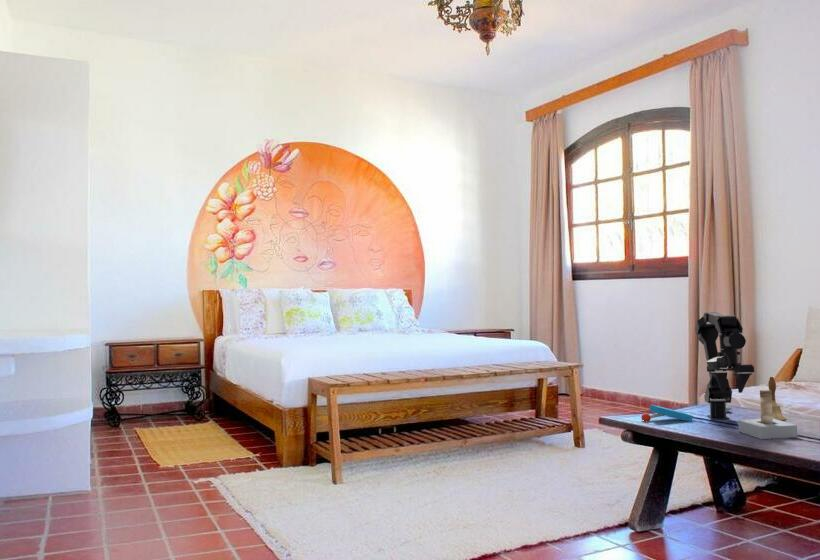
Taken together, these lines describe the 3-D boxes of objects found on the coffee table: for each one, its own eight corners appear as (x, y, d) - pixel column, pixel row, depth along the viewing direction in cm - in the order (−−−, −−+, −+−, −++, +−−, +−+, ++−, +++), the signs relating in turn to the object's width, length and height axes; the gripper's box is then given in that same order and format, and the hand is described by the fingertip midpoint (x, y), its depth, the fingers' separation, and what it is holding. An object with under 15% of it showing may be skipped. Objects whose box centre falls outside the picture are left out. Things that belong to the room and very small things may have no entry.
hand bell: (760, 419, 264) (759, 377, 264) (763, 416, 271) (761, 375, 271) (785, 421, 259) (783, 378, 259) (787, 417, 266) (785, 376, 266)
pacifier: (717, 413, 280) (733, 413, 279) (716, 398, 280) (732, 397, 279) (712, 410, 287) (727, 409, 286) (711, 395, 287) (726, 394, 286)
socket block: (738, 431, 244) (738, 420, 244) (773, 429, 245) (772, 418, 245) (761, 439, 231) (760, 427, 231) (797, 437, 232) (797, 425, 232)
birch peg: (759, 433, 239) (757, 390, 239) (766, 432, 240) (764, 389, 241) (768, 435, 236) (766, 391, 236) (775, 434, 237) (773, 390, 237)
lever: (680, 430, 271) (637, 419, 270) (685, 412, 271) (641, 401, 271) (688, 433, 264) (644, 422, 264) (693, 416, 265) (648, 404, 264)
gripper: (693, 349, 261) (696, 391, 259) (727, 349, 243) (730, 394, 242) (718, 349, 264) (721, 390, 262) (754, 348, 246) (757, 393, 244)
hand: (731, 392), depth 252 cm, fingers open, 9 cm apart
